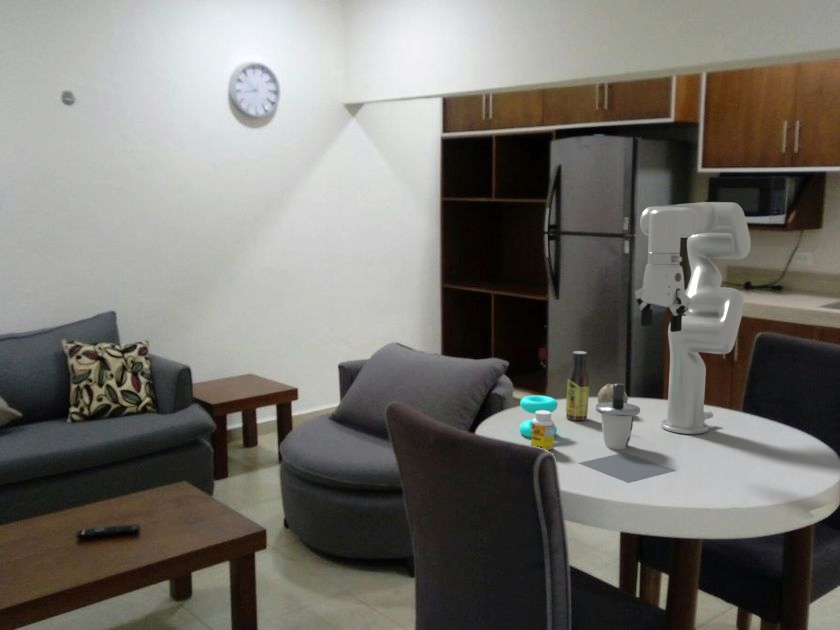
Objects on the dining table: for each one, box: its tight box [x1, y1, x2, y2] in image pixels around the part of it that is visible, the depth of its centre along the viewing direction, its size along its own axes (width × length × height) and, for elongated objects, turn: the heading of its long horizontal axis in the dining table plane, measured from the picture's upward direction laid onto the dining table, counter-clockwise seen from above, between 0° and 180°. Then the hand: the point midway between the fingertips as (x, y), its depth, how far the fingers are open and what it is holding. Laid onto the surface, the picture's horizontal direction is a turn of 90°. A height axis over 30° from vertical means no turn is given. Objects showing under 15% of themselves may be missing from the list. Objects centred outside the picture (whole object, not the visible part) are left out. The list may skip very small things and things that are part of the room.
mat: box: [578, 452, 677, 484], centre depth 195 cm, size 16×16×1 cm
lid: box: [595, 382, 641, 416], centre depth 209 cm, size 11×11×7 cm
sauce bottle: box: [565, 350, 590, 422], centre depth 237 cm, size 6×6×20 cm
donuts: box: [519, 394, 558, 438], centre depth 222 cm, size 10×10×10 cm
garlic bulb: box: [597, 383, 629, 404], centre depth 245 cm, size 9×8×10 cm
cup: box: [601, 413, 635, 450], centre depth 211 cm, size 8×8×10 cm
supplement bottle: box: [530, 410, 555, 453], centre depth 208 cm, size 6×6×10 cm
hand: (660, 328), depth 205 cm, fingers open, 9 cm apart
